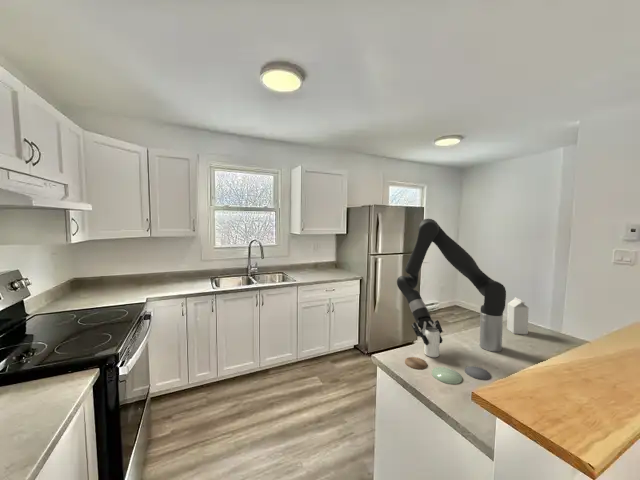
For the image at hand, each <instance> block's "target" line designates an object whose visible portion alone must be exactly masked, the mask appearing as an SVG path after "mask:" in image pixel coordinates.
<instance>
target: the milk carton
mask: <svg viewBox="0 0 640 480" xmlns="http://www.w3.org/2000/svg"><path fill="white" fill-rule="evenodd" d="M513 297H514V298H513V299H512V300H511V301H509V302H507V314H506V316H507V317H506V318H507V319H506V330H507V331H509V332H510V333H512V334H514V335H528V331H529V330H528V329H529V327H528V326H529V307H528V306H527V305H526V302H525V301H523V300H522V299H520V298H518V297H515V296H513Z"/></svg>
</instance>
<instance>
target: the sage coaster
mask: <svg viewBox="0 0 640 480" xmlns="http://www.w3.org/2000/svg"><path fill="white" fill-rule="evenodd" d="M431 375H432V377H433V378H434V379H436V380H437V381H439V382H441V383H444V384H448V385H456V384H460V383H461V382H463V375H462V374H460V372H458V371H456V370H454V369H452V368H450V367H445V366H438V367H434V368H432V370H431Z"/></svg>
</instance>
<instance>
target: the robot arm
mask: <svg viewBox="0 0 640 480" xmlns="http://www.w3.org/2000/svg"><path fill="white" fill-rule="evenodd" d="M417 231H418V233H417V238H416V239H417V240H416V243H415V246H414V248H413V250H412V252H411V254H410V255H409V258H408V261H407V262H406V265H405V268H404V271H405V272H406V273H407V274H408V275H400V276H399V277H397V279H396V285H397V287H398V289H399V291H400V292H401V294H402V295H404V297H405V298H406V300H407V303H408V306H409V308H410V311H411V313H412V316H413V318H414V321H415V322H412V324H411V327H412V330H413V332H414V333H415V336H416V337H420V338H421V340H422V342H423V343H424V344H426V345H428V344H429V341H428V339H427V337H426V336H425V331H426V328H427V327H433V328H437V329H438V330H439V333H440V334H442V333H443V329H442V325H441V324H440V321H439V320H438V319H437V320H433V319H432V317H431V314H430V312H429V310H428V308H427V306H426V303H425V301H424V300H423V298H422V295H421V293H420V292H419V290H415V288H417V286H418V283H419V282H418V281H419V272H420V270H421V268H422V266H423V263H424V260H425V258H426V255H427V252H428V250H429V248H430V246H431V245H432V244H433V243H434V245H435V246H436V247H437V248H438V249H439V251H440V253H441V254H442V256H443V257H444V258H445V259H446V260H447V261H448V262H449V264H450V265H451V266H452V267H454V269H456V270H457V272H459V273H460V274H462V276H464V277H465V278H467V279H468V280H469V281H470V282H471V284H473V286H474V287H475V288H476V289H477V291H478V292H479V293H480V295H482V296H483V297H484V299H483V305H480V317H479V319H480V320H479V321H480V322H479V347H480V348H482V349H483V350H487V351H488V352H489V351H490V352H501V351H502V350H503V329H504V328H503V323H504V322H503V318H504V310H505V309H506V300H507V290H506V286H504V284H502V283H501V282H499V281H496V280H494V279H492V278H491V277H489V275H487V274H486V273H485V272H484V271H482V270H481V269H480V267H479V265H478V264H477V262H476V261H475V259H474V258H473V257H472V255H470V254H469V253H468V252H467V251H466V250H465V248H463V247H462V246H461V245H459V244H458V243H457V242H456V241H455V240H454V239H452V238H451V237H450V236H449V235H448V234H447V233H446V232H445V231H444V230H443V229H442V227H441V226H440V225H439V223H438V222H437V221H436V220H434V219H433V218H424V219H422V220H421V221H420V223H419V225H418V229H417ZM442 343H443V338H442V335H440V344H442Z"/></svg>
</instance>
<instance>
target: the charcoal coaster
mask: <svg viewBox="0 0 640 480" xmlns="http://www.w3.org/2000/svg"><path fill="white" fill-rule="evenodd" d="M464 372H465V374H466V375H467V376H469V377H471V378H473V379H475V380H476V379H477V380H483V381H485V380H486V381H487V380H489V379H490V378H491V373H490V372H489V371H488V370H487V369H484V368H482V367H480V366H476V365H475V366H474V365H469V366H466V367H464Z"/></svg>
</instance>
